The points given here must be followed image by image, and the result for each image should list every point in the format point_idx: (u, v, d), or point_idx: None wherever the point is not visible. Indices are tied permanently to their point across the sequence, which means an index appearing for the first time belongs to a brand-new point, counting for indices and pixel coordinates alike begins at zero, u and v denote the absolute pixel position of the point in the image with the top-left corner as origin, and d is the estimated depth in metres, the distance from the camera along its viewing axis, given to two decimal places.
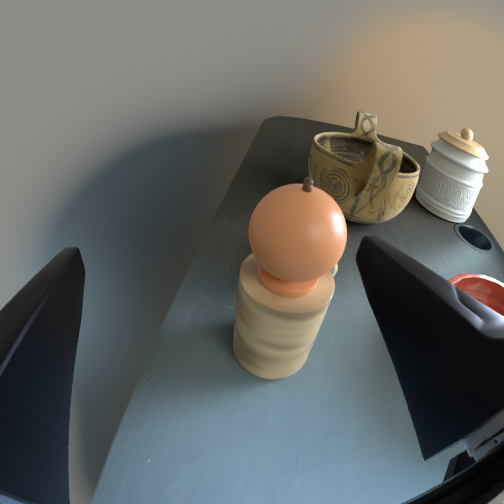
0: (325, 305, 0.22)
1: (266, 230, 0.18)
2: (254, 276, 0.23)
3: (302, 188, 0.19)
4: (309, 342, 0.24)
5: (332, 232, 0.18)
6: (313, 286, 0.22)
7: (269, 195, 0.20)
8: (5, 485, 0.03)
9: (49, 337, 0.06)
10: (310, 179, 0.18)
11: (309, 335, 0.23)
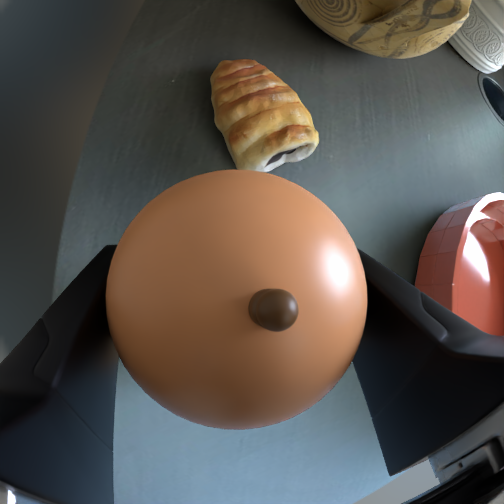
0: None
1: (145, 391, 0.06)
2: None
3: (249, 305, 0.05)
4: None
5: (321, 397, 0.06)
6: None
7: (134, 288, 0.05)
8: (63, 498, 0.03)
9: (99, 338, 0.06)
10: (286, 321, 0.04)
11: None
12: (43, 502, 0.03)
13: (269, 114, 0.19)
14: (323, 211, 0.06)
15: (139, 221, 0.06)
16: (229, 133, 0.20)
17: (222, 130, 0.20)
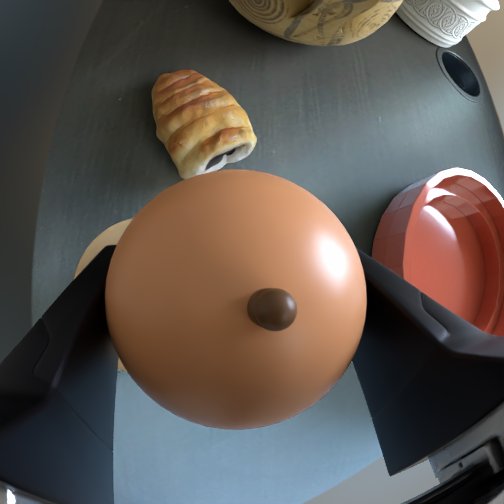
0: None
1: (144, 391, 0.06)
2: None
3: (248, 305, 0.05)
4: None
5: (320, 397, 0.06)
6: None
7: (133, 287, 0.05)
8: (63, 499, 0.03)
9: (99, 338, 0.06)
10: (285, 321, 0.04)
11: None
12: (43, 502, 0.03)
13: (202, 121, 0.20)
14: (322, 211, 0.06)
15: (138, 221, 0.06)
16: (168, 144, 0.21)
17: (163, 141, 0.21)
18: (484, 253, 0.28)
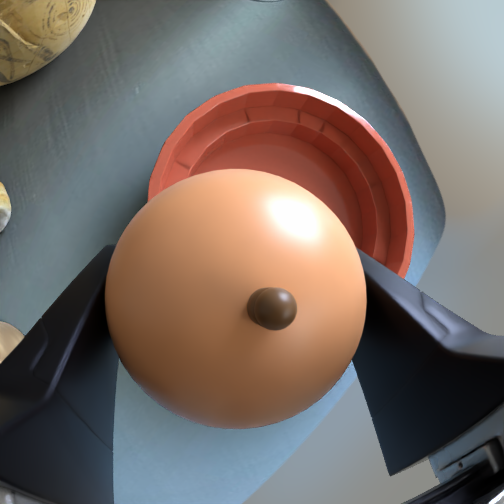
0: None
1: (144, 391, 0.06)
2: None
3: (247, 304, 0.05)
4: None
5: (320, 397, 0.06)
6: None
7: (133, 287, 0.05)
8: (63, 498, 0.03)
9: (99, 338, 0.06)
10: (284, 320, 0.04)
11: None
12: (43, 502, 0.03)
13: None
14: (322, 210, 0.06)
15: (138, 220, 0.06)
16: None
17: None
18: (340, 167, 0.25)
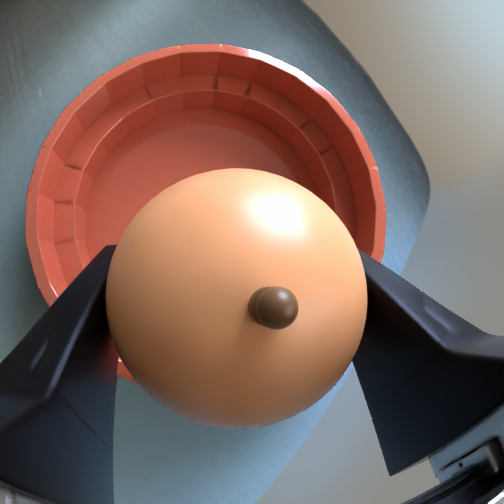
0: None
1: (144, 390, 0.06)
2: None
3: (249, 303, 0.05)
4: None
5: (321, 396, 0.06)
6: None
7: (134, 286, 0.05)
8: (63, 498, 0.03)
9: (99, 338, 0.06)
10: (286, 319, 0.04)
11: None
12: (43, 502, 0.03)
13: None
14: (323, 210, 0.06)
15: (139, 220, 0.06)
16: None
17: None
18: (281, 136, 0.20)
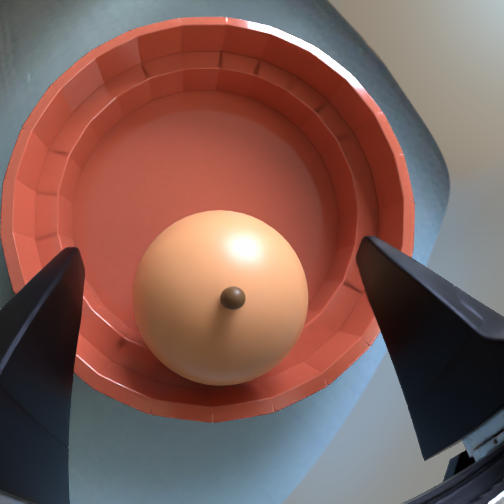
0: None
1: (162, 361, 0.10)
2: None
3: (220, 297, 0.09)
4: None
5: (278, 358, 0.10)
6: None
7: (154, 292, 0.09)
8: (5, 485, 0.03)
9: (49, 337, 0.06)
10: (238, 303, 0.08)
11: None
12: None
13: None
14: (268, 236, 0.10)
15: (152, 251, 0.10)
16: None
17: None
18: (293, 121, 0.17)
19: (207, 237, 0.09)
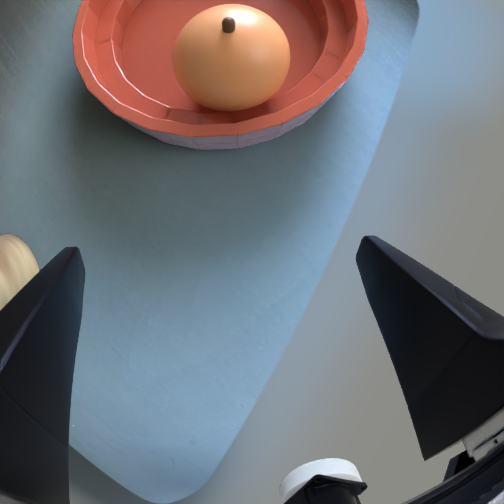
0: None
1: (195, 88, 0.14)
2: None
3: (222, 28, 0.12)
4: (6, 292, 0.17)
5: (271, 70, 0.14)
6: None
7: (184, 42, 0.13)
8: (5, 485, 0.03)
9: (49, 337, 0.06)
10: (230, 21, 0.11)
11: None
12: None
13: None
14: (249, 7, 0.13)
15: (181, 30, 0.13)
16: None
17: None
18: None
19: (212, 10, 0.12)
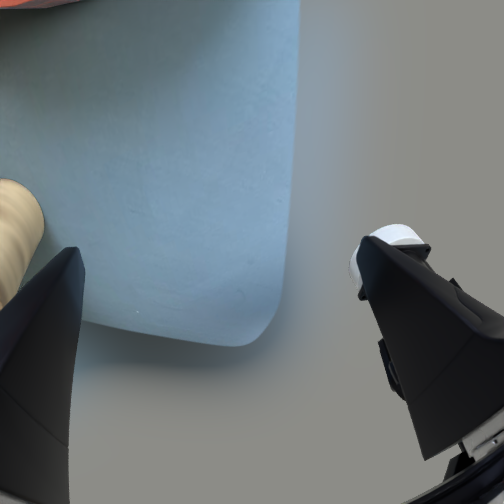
0: None
1: None
2: None
3: None
4: (9, 230, 0.16)
5: None
6: None
7: None
8: (5, 485, 0.03)
9: (49, 337, 0.06)
10: None
11: (6, 247, 0.15)
12: None
13: None
14: None
15: None
16: None
17: None
18: None
19: None
